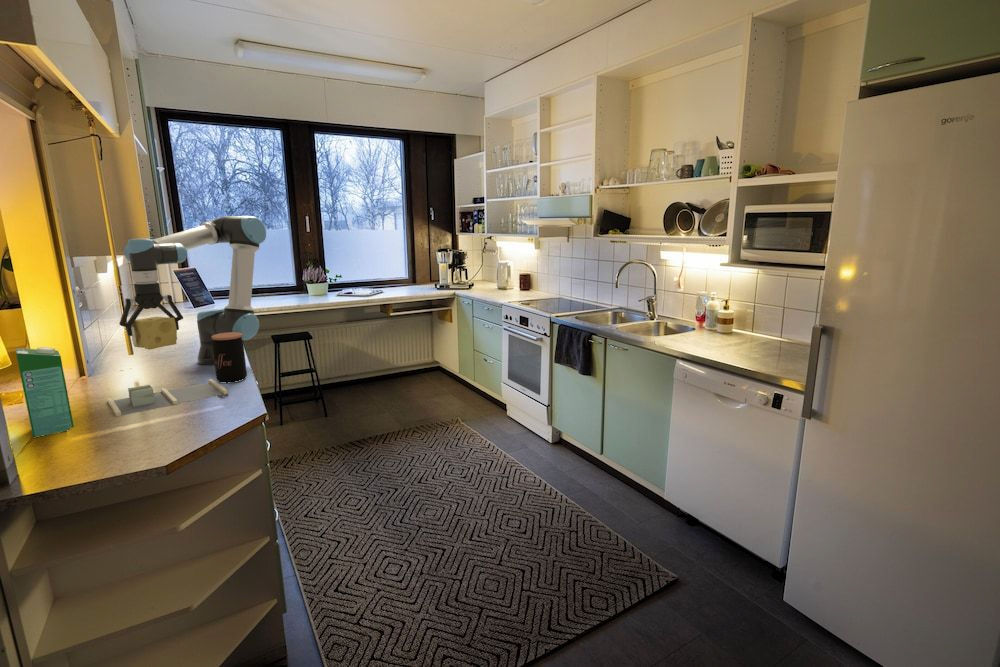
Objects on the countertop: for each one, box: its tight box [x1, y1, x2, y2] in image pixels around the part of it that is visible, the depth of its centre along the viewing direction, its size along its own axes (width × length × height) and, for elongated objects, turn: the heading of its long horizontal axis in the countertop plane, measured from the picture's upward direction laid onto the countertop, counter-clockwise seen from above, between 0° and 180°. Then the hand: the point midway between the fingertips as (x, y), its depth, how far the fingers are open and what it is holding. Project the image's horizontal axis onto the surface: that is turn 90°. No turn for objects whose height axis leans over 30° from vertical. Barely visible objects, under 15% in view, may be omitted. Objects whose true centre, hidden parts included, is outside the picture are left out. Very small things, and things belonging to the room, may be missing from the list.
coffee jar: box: [211, 332, 248, 384], centre depth 198 cm, size 11×11×18 cm
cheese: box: [132, 315, 178, 351], centre depth 184 cm, size 10×11×10 cm
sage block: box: [127, 384, 155, 407], centre depth 170 cm, size 6×6×5 cm
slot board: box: [106, 378, 229, 417], centre depth 176 cm, size 19×32×2 cm, turn 134°
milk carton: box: [14, 346, 75, 438], centre depth 148 cm, size 9×9×25 cm
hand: (155, 341), depth 185 cm, fingers closed on cheese, 12 cm apart
